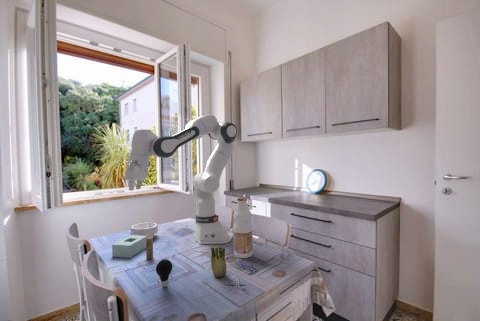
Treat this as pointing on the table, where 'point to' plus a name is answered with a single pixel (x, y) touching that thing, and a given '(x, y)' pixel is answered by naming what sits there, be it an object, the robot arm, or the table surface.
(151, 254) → the walnut peg
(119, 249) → the hole block
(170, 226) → the table surface
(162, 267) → the light bulb
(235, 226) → the fruit juice
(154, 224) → the paper bowls
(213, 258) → the fennel bulb
